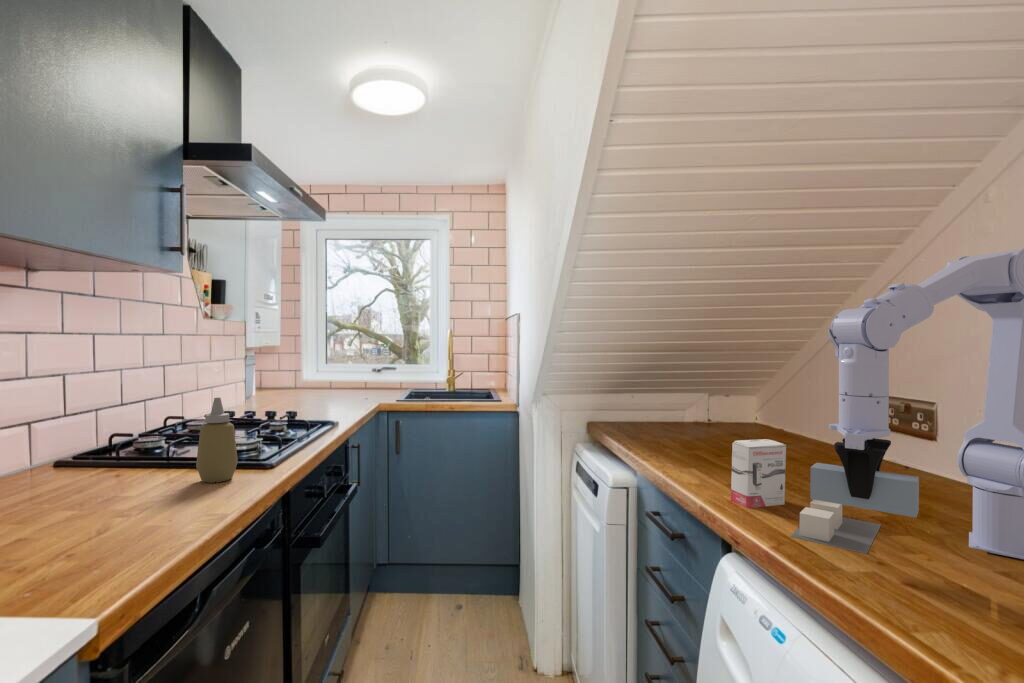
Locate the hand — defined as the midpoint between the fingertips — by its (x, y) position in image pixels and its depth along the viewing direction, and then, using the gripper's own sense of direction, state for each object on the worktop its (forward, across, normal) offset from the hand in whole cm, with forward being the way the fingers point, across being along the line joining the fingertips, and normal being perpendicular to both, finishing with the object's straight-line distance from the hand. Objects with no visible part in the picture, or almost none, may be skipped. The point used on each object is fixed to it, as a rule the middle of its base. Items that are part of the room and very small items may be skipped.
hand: (862, 493), depth 72 cm
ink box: (+10, -19, -19) cm, 29 cm away
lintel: (+1, 0, 0) cm, 1 cm away
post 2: (+9, -8, -7) cm, 14 cm away
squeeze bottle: (+10, +42, -113) cm, 121 cm away
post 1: (+10, -14, -7) cm, 19 cm away
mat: (+10, -12, -5) cm, 16 cm away
